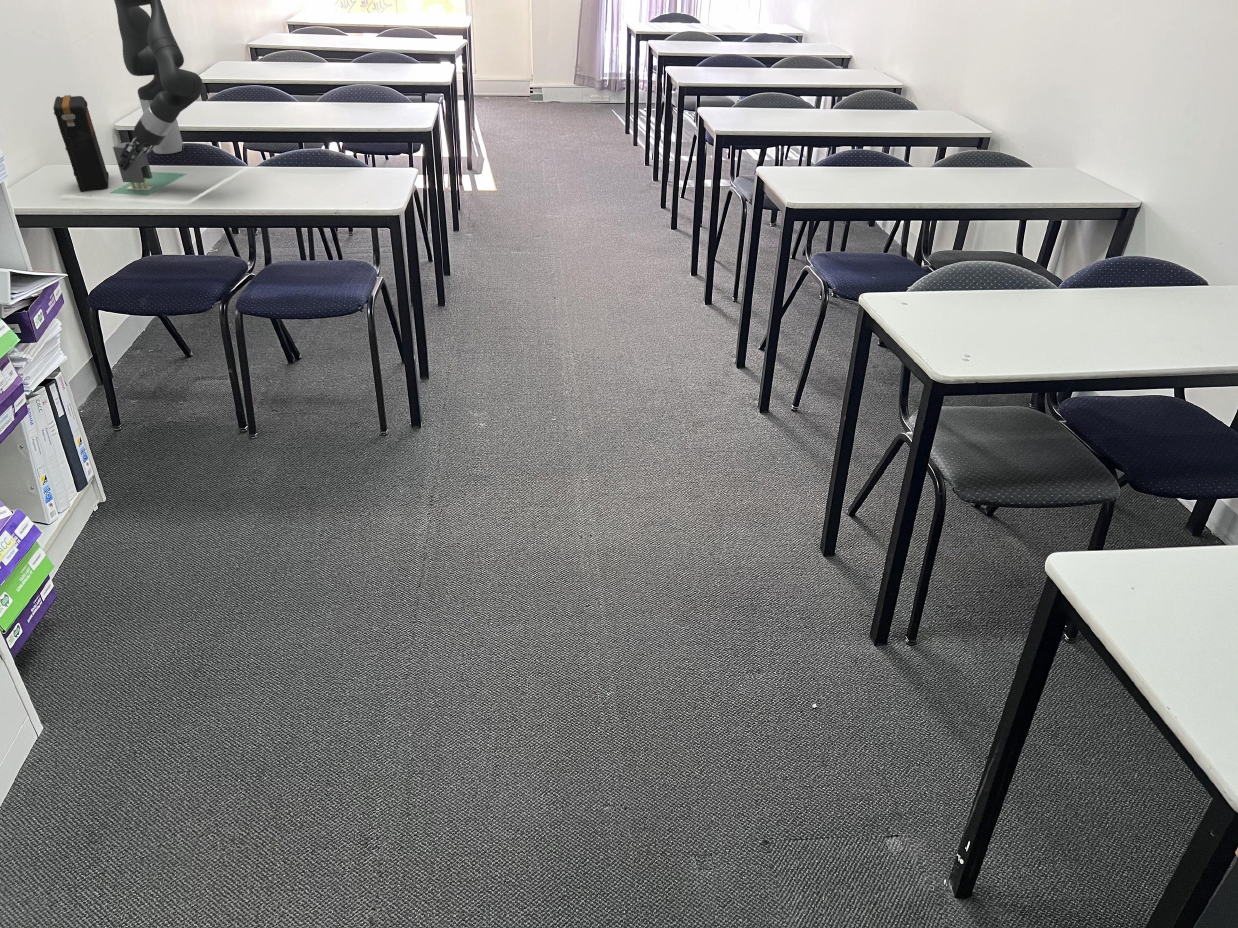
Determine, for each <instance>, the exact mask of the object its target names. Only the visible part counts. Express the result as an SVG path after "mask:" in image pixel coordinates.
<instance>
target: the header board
mask: <svg viewBox="0 0 1238 928" xmlns="http://www.w3.org/2000/svg"><path fill="white" fill-rule="evenodd" d="M151 174H152V177H153V178H151V179H145V178H144V182H143V183H134V182H127V183H126V184H124V185H122V186H121V187H118V188H116V189H114V190H113V191H110V192H109V194H118V195H137V196H138V195H139V196H149V195H151V194H152V193H154V192H156V191H158V190H160V189H162V188H164V187H166V186H168V185H170V184H172V183H173V182H175V181H176V180H179V179H181V178H182V177H184V176H186V175H187V173H179V172H165V171H164V172H161V171H160V172H159V171H151Z"/></svg>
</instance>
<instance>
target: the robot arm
mask: <svg viewBox="0 0 1238 928" xmlns="http://www.w3.org/2000/svg"><path fill="white" fill-rule="evenodd" d="M113 1H114V5H115V9H116V14H117V21H118V22H117V23H118V29H119V33H120V37H121V41H122V58H123V63H124V66H125V69H126V70H127V71H128V73H130V75H132V76H135V77H145V76H146V77H147V76H148V77H149V76H153V78H152V80H151V81H149V82H148V83H146V84H145V85H142V86H140V87H138V89H137V96H138V99H139V102H140V106H141V110H142V114H141V117H140V118H139V119H138V121H137V122H136V124H135V126H134V127H133V128H134V129H133V131H134V133H135V135H136V136H135V137H134V138H133V139H132V140H131V142H127V144H126V146H125V148H124V150H123V151H122V153H121V155H120V157H121V158H122V160H121V162H120V163H119V166H118V168H119V167H120V168H121V169H122V170H124V171H125V170H127V168H128V167H129V165H130V163H131V162H132V161H133V160H134V158H135V157H139V156H140V155H141V154H142V152H143V151H144V152H145V153H146V155H147V154H149V153H151V152H152V150H153V153H154V154H159V155H163V154H164V155H169V154H175V153H179V152H182V151H183V150H182V144H183V145H184V142H183V138H182V135H181V131H180V127H179V122H178V120H177V118H178V117H179V115H180V113H181V112H183V111H184V110H185V109H187V108H188V107H189V106H191V104H194V103H195V102H196V101H197V100H198V99H199V97H200V96H201V95H202V92H203V88H204V84H203V80H202V78H201V76H200V75H199V74H197V73H196V72H195V71H194V72H193V71H190V70H187V69H182V68H181V67H182V66H183V65H184V62H185V58H184V54H183V53H182V50H181V48H180V46H179V45H178V42H177V41H176V38H175V37H174V34H173V31H172V29H171V27H170V24H169V21H168V18H167V15H166V12H165V9H164V7H163V4H162V1H161V0H113ZM148 5H149V6H150V11H151V12H150V15H149V13H148V12H147V11H146V10H145V9H143V8H142V7H141V6H148ZM129 143H131V144H129ZM135 152H138V153H137V154H136V153H135Z"/></svg>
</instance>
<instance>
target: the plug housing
mask: <svg viewBox="0 0 1238 928" xmlns="http://www.w3.org/2000/svg"><path fill="white" fill-rule="evenodd" d="M127 143H129V144H131V143H132V142H122V143H120V144H116V145H114V146H112V149H113V152H114V156H115V159H116V162H117V166H118V169H119V173H120V176H121V180H122V182H123V183H130V182H134V183H143V182H144V178H145V179H151V178H153V177H152V174H151V172H152V170H151V167H150V163H149V159H148V155H147V154H146V153H145V152H144V151H143V152H142V154H141V155H140V156H139V157H135V158H134V160H133V161H132V162H131V163H130V165H129V167H128V168H127V170H125V171H124V170H122V169H121V168H120V167H119V163H120V162H121V160H122V158H121V157H120V155H121V153H122V151H123V150H124V148H125V146H126V144H127ZM135 153H136V154H137V153H138V152H135Z"/></svg>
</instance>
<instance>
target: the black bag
mask: <svg viewBox="0 0 1238 928" xmlns="http://www.w3.org/2000/svg"><path fill="white" fill-rule="evenodd" d="M53 103H54V104H53V107H52V109H53V115H55V118H56V121H57V125H58V128H59V131H60V134H61V137H62V140H63V142H64V145H65V151H66V153H67V155H68V158H69V161H70V162H69V163H70V164H71V168H72V171H73V176H74V177H75V179H76V183H77V187H78V189H79V191H80V192H81V193H84V192H92V191H94V192H95V191H103V190H107V189H108V188H109V177H110V176H109V175H110V174H109V172H108V171H107V167H106V165H105V162H104V157H103V154H102V151H101V148H100V145H99V141H98V137H97V135H96V131H95V127H94V125H93V121H92V118H91V115H90V111H89V109H88V107H89V106H88V101H87V100H86V99H85V98H84V96H82V95H75V96H73V95H71V94H66V95H63V96H62V97H61V96H60V95H59V96H56V97H55V100H54V102H53Z"/></svg>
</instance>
